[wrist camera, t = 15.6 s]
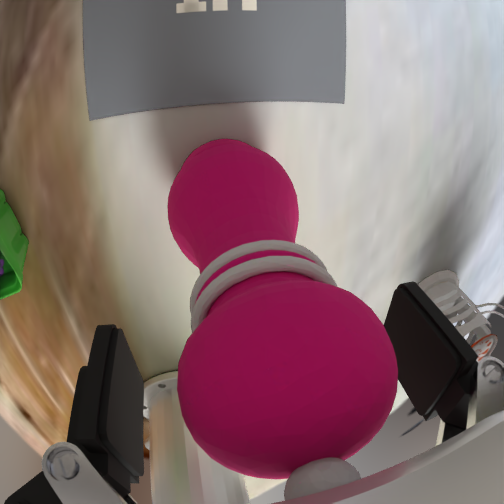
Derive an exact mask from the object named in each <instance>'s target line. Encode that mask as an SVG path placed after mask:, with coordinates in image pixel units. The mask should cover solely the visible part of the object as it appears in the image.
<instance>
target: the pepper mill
mask: <svg viewBox="0 0 504 504" xmlns="http://www.w3.org/2000/svg"><path fill="white" fill-rule="evenodd" d="M168 220H169V225H170V230H171V232H172V234H173V237H174V239H175V241H176V242H177V244H178V246H179V247H180V249H181V251H182V252H183V253H184V255H185V256H186V257H187V258H188V259H189V260H190V261H191V262H192V263H193V264H194V265H196V266H197V267H198V268H199V270H200V276H199V278H198V279H197V281H196V283H195V285H194V287H193V290H192V294H191V298H190V311H191V317H192V318H191V329H192V334H191V336H190V337H189V338H188V339H187V342H186V345H185V347H184V350H183V352H182V355H181V358H180V360H179V363H178V379H177V392H178V398H179V403H180V408H181V413H182V417H183V419H184V422H185V424H186V426H187V428H188V430H189V432H190V433H191V435H192V437H193V439H194V441H195V442H196V443H197V444H198V445H199V446H200V447H201V448H202V449H203V450H204V452H205V453H206V454H207V455H208V456H209V457H210V458H211V459H213V460H214V461H216V462H218V463H219V464H221V465H223V466H224V467H226V468H228V469H230V470H233V471H235V472H238V473H240V474H243V475H248V476H252V477H257V478H266V479H287V478H288V480H287V482H286V486H285V491H284V497H285V501H286V500H291V499H295V498H299V497H303V496H307V495H311V494H314V493H318V492H322V491H325V490H329V489H332V488H335V487H338V486H341V485H345V484H348V483H351V482H353V481H356V480H359V479H361V477H360V474H359V472H358V471H357V470H356V468H355V467H354V466H352V465H351V464H349V463H348V462H346V461H345V460H346V459H347V458H349V457H351V456H352V455H354V454H355V453H357V452H358V451H359V450H360V449H361V448H363V447H364V446H365V445H366V444H368V443H369V442H370V441H371V440H372V438H373V437H374V436H375V435H376V434H377V433H378V431H379V430H380V429H381V428H382V426H383V424H384V423H385V421H386V419H387V417H388V415H389V413H390V412H391V410H392V406H393V403H394V400H395V396H396V393H397V381H398V367H397V360H396V355H395V352H394V348H393V345H392V343H391V341H390V338H389V336H388V334H387V332H386V329H385V327H384V325H383V324H382V323H381V321H380V320H379V318H378V317H377V316H376V314H375V313H374V312H373V310H372V309H371V308H370V307H369V306H367V305H366V304H365V303H364V302H363V301H362V300H360V299H359V298H358V297H357V296H355V295H354V294H352V293H351V292H349V291H346V290H344V289H341V288H339V287H337V284H336V283H335V281H334V280H333V278H332V276H331V275H330V274H329V273H328V272H327V269H326V267H325V266H324V264H323V262H322V261H321V260H320V259H319V258H318V256H316V255H315V254H314V253H313V252H311V251H310V250H308V249H307V248H305V247H303V246H301V245H298V244H295V238H296V233H297V227H298V221H299V211H298V202H297V195H296V192H295V189H294V187H293V184H292V182H291V180H290V178H289V176H288V175H287V173H286V171H285V170H284V169H283V167H282V166H281V165H280V164H279V163H278V162H277V161H276V160H275V159H274V158H273V157H271V156H270V155H269V154H267V153H265V152H263V151H261V150H259V149H257V148H255V147H252V146H250V145H248V144H247V143H244V142H241V141H238V140H233V139H218V140H214V141H210V142H208V143H206V144H203V145H202V146H200V147H198V148H197V149H196V150H194V151H193V152H192V153H191V154H190V155H189V156H188V158H187V159H186V161H185V162H184V164H183V166H182V168H181V170H180V172H179V173H178V174H177V176H176V178H175V180H174V182H173V184H172V186H171V189H170V193H169V197H168Z"/></svg>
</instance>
